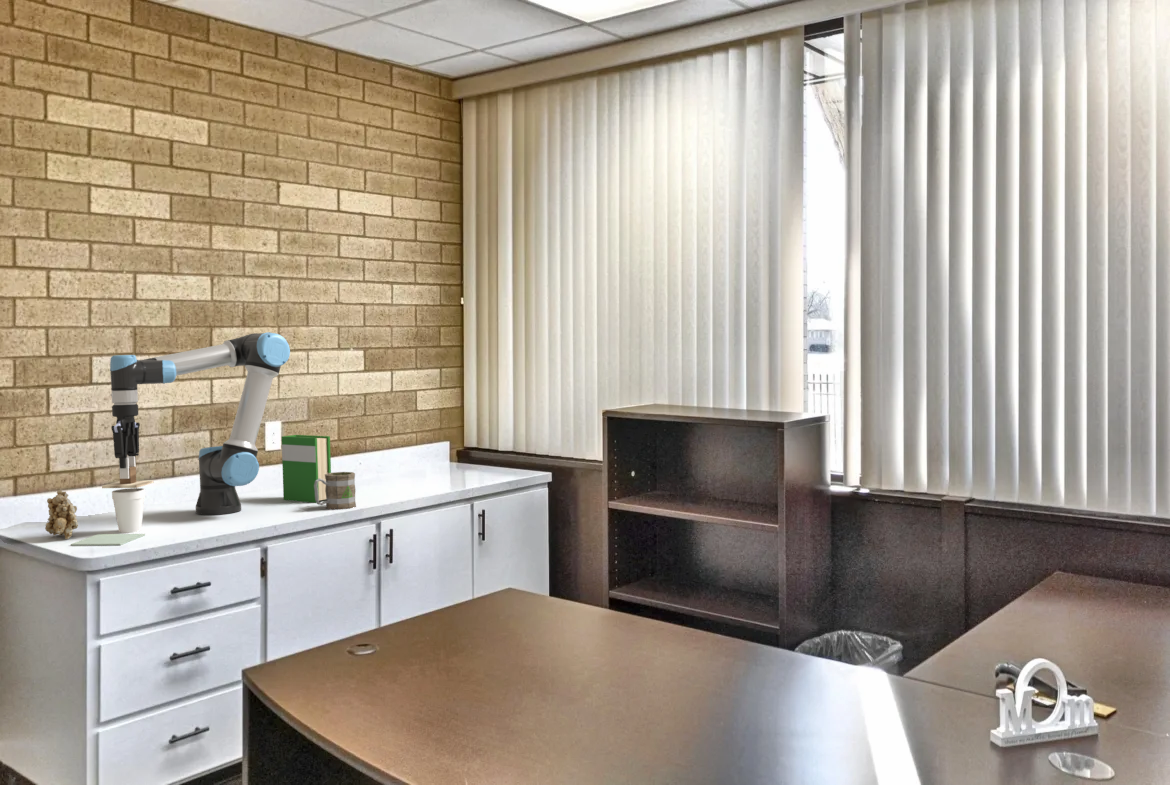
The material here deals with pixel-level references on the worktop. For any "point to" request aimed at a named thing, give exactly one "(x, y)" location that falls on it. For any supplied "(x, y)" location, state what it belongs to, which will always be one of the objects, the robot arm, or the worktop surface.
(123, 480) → the lid
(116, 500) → the foam cup
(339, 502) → the mug
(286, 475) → the hardback book
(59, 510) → the mineral formation
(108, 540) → the mat
